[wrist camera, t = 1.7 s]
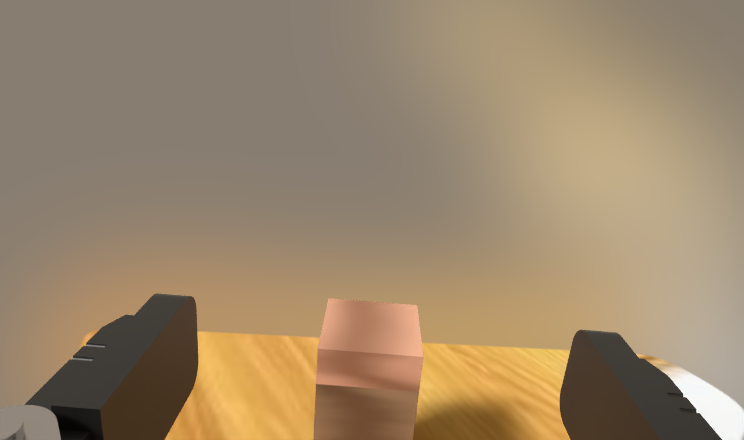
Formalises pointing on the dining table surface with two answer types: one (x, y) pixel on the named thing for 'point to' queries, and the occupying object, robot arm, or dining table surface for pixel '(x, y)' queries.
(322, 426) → the walnut block
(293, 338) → the dining table surface
